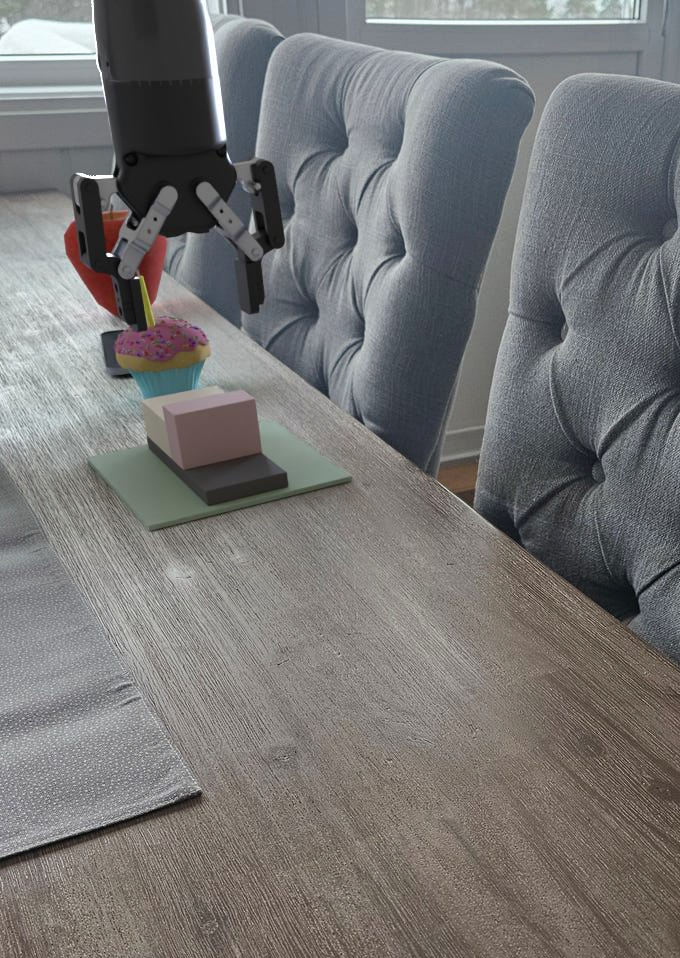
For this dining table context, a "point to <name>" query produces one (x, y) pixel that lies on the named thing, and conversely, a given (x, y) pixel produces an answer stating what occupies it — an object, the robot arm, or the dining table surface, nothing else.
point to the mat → (173, 502)
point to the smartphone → (111, 353)
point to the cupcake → (163, 353)
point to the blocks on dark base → (212, 443)
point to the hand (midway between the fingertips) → (195, 320)
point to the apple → (112, 223)
